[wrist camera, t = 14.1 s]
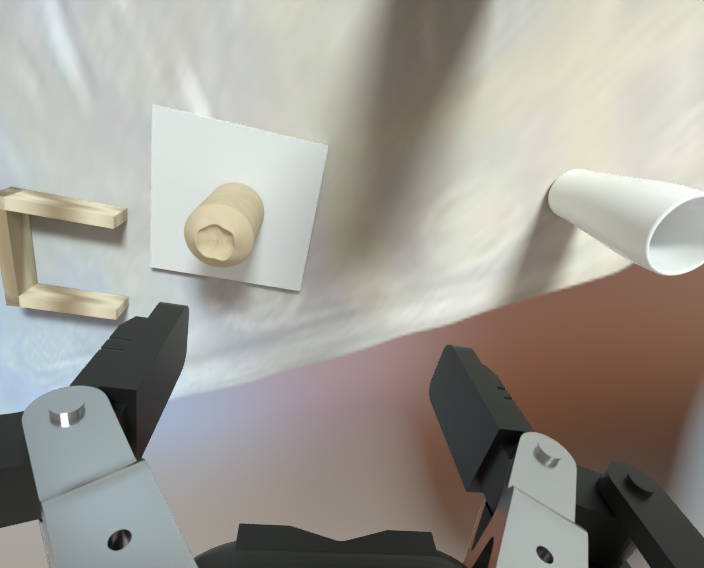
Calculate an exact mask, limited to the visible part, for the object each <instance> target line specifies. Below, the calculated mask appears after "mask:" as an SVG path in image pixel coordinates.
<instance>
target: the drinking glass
mask: <svg viewBox="0 0 704 568" xmlns="http://www.w3.org/2000/svg"><path fill="white" fill-rule="evenodd" d="M548 203H549V206H550V208H551V210H552V211H553V212H554V213H555V214H556V215H557V216H559V217H561V218H563V219H565V220H567V221H569V222H570V223H572V224H573V225H575V226H576V227H578V228H579V229H581V230H582V231H584V232H585V233H587V234H588V235H590V236H591V237H593V238H594V239H596V240H597V241H599V242H600V243H602V244H603V245H605V246H606V247H608V248H609V249H611V250H612V251H614V252H615V253H617V254H619V255H620V256H622V257H624V258H626V259H628V260H629V261H631V262H633V263H635V264H638V265H640V266H642V267H644V268H647V269H649V270H651V271H653V272H655V273H657V274H660V275H665V276H674V275H680V274H684V273H687V272H689V271H691V270H694V269H695V268H697V267H699V266H700V265H702V264H703V263H704V191H702V190H698V189H695V188H691V187H687V186H683V185H679V184H675V183H670V182H665V181H659V180H652V179H644V178H636V177H628V176H621V175H614V174H607V173H600V172H593V171H590V170H586V169H573V170H569V171H567V172H565V173H563V174H562V175H561V176H559V177H558V178H557V179H556V180H555V182H554V183H553V185H552V186H551V188H550V191H549V195H548Z"/></svg>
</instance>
